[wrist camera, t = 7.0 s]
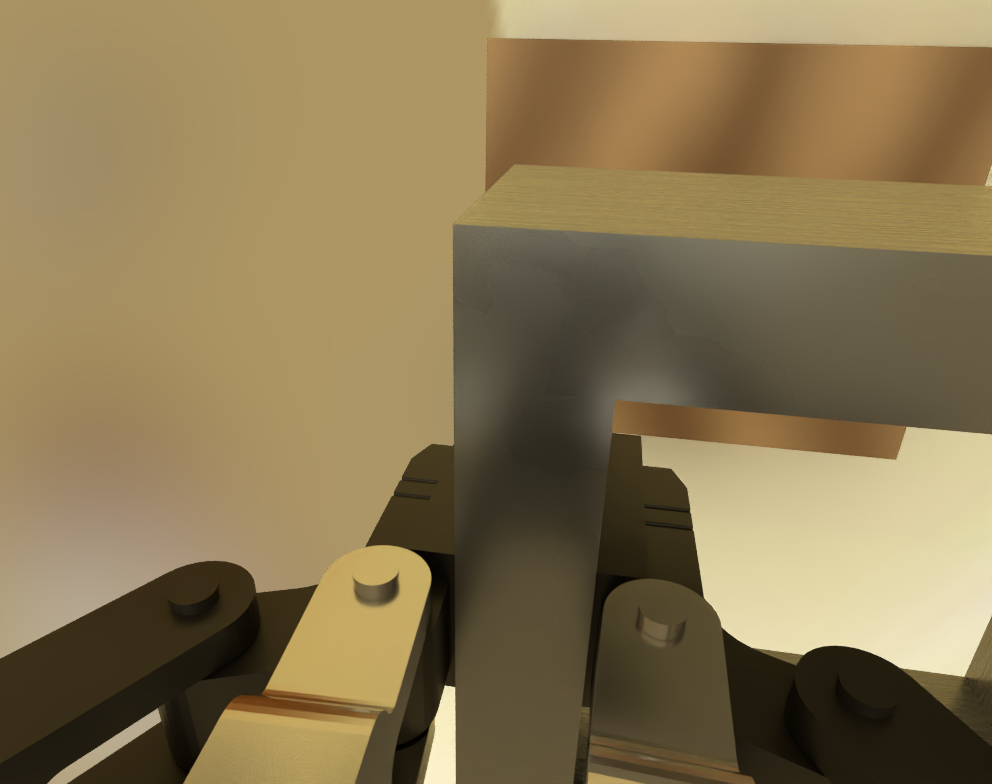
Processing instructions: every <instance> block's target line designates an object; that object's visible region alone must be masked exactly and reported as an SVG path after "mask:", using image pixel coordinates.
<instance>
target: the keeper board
mask: <svg viewBox="0 0 992 784" xmlns="http://www.w3.org/2000/svg"><path fill="white" fill-rule="evenodd" d="M486 123H487V124H486V192H487V191H488V190H489V189H490V188H491V187H492V186H493V185H494V184H495V183H496V182H497V181H498V180H499V179H500V178H501V177H502V176H503V175H504V174H505V173H506V172H507V171H508V170H509V169H510V168H511V167H512V166H513V165H514V164H517V165H539V166H560V167H582V168H604V169H626V170H648V171H669V172H691V173H713V174H735V175H757V176H778V177H800V178H822V179H844V180H866V181H887V182H909V183H931V184H953V185H975V186H985V183H986V180H987V176H988V173H989V170H990V167H991V164H992V48H986V47H933V46H880V45H826V44H773V43H720V42H666V41H613V40H559V39H506V38H488V45H487V121H486ZM906 427H907V426H896V425H885V424H874V423H863V422H852V421H841V420H830V419H819V418H808V417H797V416H786V415H775V414H764V413H753V412H742V411H731V410H721V409H710V408H699V407H688V406H677V405H666V404H655V403H644V402H633V401H622V400H615V409H614V418H613V427H612V432H617V433H627V434H637V435H648V436H658V437H668V438H679V439H689V440H699V441H710V442H720V443H730V444H741V445H751V446H761V447H771V448H782V449H792V450H802V451H813V452H823V453H833V454H844V455H854V456H864V457H875V458H885V459H895V460H896V458H897V455H898V452H899V449H900V446H901V442H902V439H903V436H904V433H905V430H906Z"/></svg>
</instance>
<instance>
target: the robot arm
mask: <svg viewBox="0 0 992 784" xmlns="http://www.w3.org/2000/svg"><path fill="white" fill-rule="evenodd" d="M445 685H446V686H452V687H455V514H454V445H453V446H447V445H437V444H431V445H430V446H428V447H427V448H426V449H424V450H423V451H421V452H420V453H419V454H417V455H416V456H414V457H413V458H412V459H411V461H410V463H409V465H408V466H407V468H406V470H405V472H404V474H403V476H402V481H400V482H399V484H398V486H397V487H396V489H395V491H394V496H392V497H391V499H390V501H389V503H388V505H387V507H386V508H385V511H384V512H383V514H382V516H381V518H380V520H379V522H378V524H377V526H376V527H375V529H374V531H373V533H372V535H371V537H370V539H369V541H368V543H367V545H366V547H364V548H360V549H357V550H354V551H352V552H349V553H347V554H345V555H343V556H342V557H340V558H339V559H337V560H336V561H335V562H333V563H332V564H331V566H329V568H328V569H327V570H326V572H325V573H324V575H323V577H322V579H321V581H320V583H319V584H318V585H314V586H310V587H304V588H298V589H289V590H280V591H272V592H262V593H256V588H255V584H254V579H253V577H252V576H251V574H250V573H249V572H248V571H247V570H246V569H244V568H243V567H241V566H239V565H236V564H233V563H229V562H223V561H206V562H199V563H194V564H190V565H186V566H183V567H180V568H177V569H175V570H173V571H170V572H168V573H166V574H164V575H162V576H160V577H159V578H156V579H155V580H153V581H151V582H149V583H147V584H145V585H143V586H141V587H139V588H137V589H135V590H133V591H131V592H129V593H127V594H126V595H124V596H121V597H120V598H118V599H116V600H114V601H112V602H110V603H108V604H106V605H104V606H102V607H100V608H98V609H96V610H94V611H93V612H90V613H89V614H87V615H85V616H83V617H81V618H79V619H77V620H75V621H73V622H71V623H69V624H67V625H65V626H63V627H61V628H60V629H58V630H55V631H53V632H51V633H50V634H48V635H46V636H44V637H42V638H40V639H38V640H36V641H34V642H32V643H30V644H28V645H26V646H24V647H22V648H20V649H18V650H16V651H14V652H13V653H11V654H9V655H7V656H5V657H3V658H1V659H0V784H47V783H48V782H49V781H50V780H51V779H52V778H53V777H54V776H55V775H57V774H58V773H59V772H60V771H62V770H63V769H64V768H66V767H67V766H69V765H70V764H72V763H74V762H75V761H77V760H78V759H79V758H81V757H83V756H84V755H86V754H87V753H89V752H91V751H92V750H94V749H95V748H97V747H98V746H100V745H101V744H103V743H104V742H106V741H107V740H109V739H110V738H112V737H114V736H115V735H116V734H118V733H120V732H122V731H123V730H124V729H126V728H128V727H129V726H131V725H132V724H134V723H135V722H137V721H138V720H140V719H142V718H143V717H145V716H146V715H148V714H149V713H151V712H152V711H154V710H156V709H157V708H158V710H159V714H160V717H161V722H160V723H158V724H157V725H155V726H153V727H152V728H151V729H149V730H148V731H146V732H145V733H143V734H142V735H140V736H138V737H137V738H135V739H134V740H132V741H131V742H129V743H128V744H126V745H125V746H123V747H122V748H120V749H119V750H117V751H116V752H114V753H113V754H111V755H110V756H108V757H107V758H105V759H104V760H102V761H101V762H99V763H98V764H96V765H95V766H93V767H92V768H90V769H89V770H87V771H86V772H84V773H83V774H81V775H79V776H78V777H76V778H75V779H73V780H72V781H71V782H69V783H68V784H423V783H424V778H425V774H426V770H427V765H428V761H429V756H430V752H431V747H432V743H433V738H434V732H435V716H436V713H437V711H438V707H439V704H440V700H441V697H442V693H443V690H444V686H445ZM582 707H589V708H590V713H589V734H588V741H587V750H586V758H585V767H584V777H583V784H992V747H991V746H990V745H989V744H988V743H987V742H986V741H984V740H983V739H982V738H981V737H980V736H979V735H978V734H976V733H975V732H974V731H973V730H972V729H971V728H970V727H968V726H967V725H966V724H965V723H964V722H963V721H961V720H960V719H959V718H958V717H957V716H956V715H955V714H953V713H952V712H951V711H950V710H949V709H948V708H946V707H945V706H944V705H943V704H942V703H941V702H940V701H938V700H937V699H936V698H935V697H934V696H933V695H932V694H930V693H929V692H928V691H927V690H926V689H925V688H923V687H922V686H921V685H920V684H919V683H918V682H917V681H915V680H914V679H913V678H912V677H911V676H909V675H908V674H907V673H906V672H904V671H903V670H902V669H900V668H899V667H897V666H896V665H894V664H892V663H891V662H889V661H887V660H885V659H883V658H881V657H879V656H877V655H874V654H872V653H869V652H866V651H863V650H860V649H856V648H851V647H845V646H824V647H820V648H816V649H813V650H811V651H809V652H807V653H806V654H805V655H804V656H803V657H801V659H800V660H799V662H798V663H797V666H796V665H794V664H791V663H788V662H786V661H783V660H781V659H778V658H775V657H773V656H770V655H767V654H765V653H762V652H760V651H758V650H755V649H753V648H751V647H749V646H747V645H745V644H743V643H742V642H740V641H738V640H737V639H735V638H734V637H733V636H731V635H730V634H729V633H727V632H726V631H725V630H724V629H723V628H722V627H721V622H720V619H719V617H718V615H717V613H716V612H715V610H714V609H713V608H712V606H711V605H710V604H709V603H708V602H707V601H706V600H705V599H704V595H703V589H702V582H701V576H700V569H699V563H698V556H697V550H696V543H695V537H694V531H693V524H692V517H691V513H690V504H689V498H688V491H687V488H686V486H685V485H684V484H683V483H682V481H681V480H680V479H679V478H678V477H677V475H676V474H675V473H674V472H673V471H672V469H668V468H658V467H648V466H642V447H641V436H635V435H625V434H615V433H612V436H611V445H610V454H609V463H608V472H607V481H606V491H605V500H604V509H603V518H602V527H601V536H600V545H599V554H598V563H597V572H596V581H595V591H594V600H593V609H592V618H591V627H590V636H589V645H588V654H587V663H586V672H585V681H584V690H583V700H582Z"/></svg>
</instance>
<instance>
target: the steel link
mask: <svg viewBox="0 0 992 784" xmlns="http://www.w3.org/2000/svg"><path fill="white" fill-rule="evenodd" d="M453 317H454V318H453V322H454V325H453V326H454V327H453V329H454V514H455V698H456V784H583V777H584V767H585V758H586V750H587V741H588V734H589V713H590V708H589V707H582V700H583V690H584V681H585V672H586V663H587V654H588V645H589V636H590V627H591V618H592V609H593V600H594V591H595V581H596V572H597V563H598V554H599V545H600V536H601V527H602V518H603V509H604V500H605V491H606V481H607V472H608V463H609V454H610V445H611V436H612V427H613V418H614V409H615V400H622V401H633V402H644V403H655V404H666V405H677V406H688V407H699V408H710V409H721V410H731V411H742V412H753V413H764V414H775V415H786V416H797V417H808V418H819V419H830V420H841V421H852V422H863V423H874V424H885V425H896V426H907V427H918V428H929V429H939V430H950V431H961V432H972V433H983V434H992V186H975V185H953V184H931V183H909V182H887V181H866V180H844V179H822V178H800V177H778V176H757V175H735V174H713V173H691V172H669V171H648V170H626V169H604V168H582V167H560V166H539V165H517V164H514V165H513V166H512V167H511V168H510V169H509V170H508V171H507V172H506V173H505V174H504V175H503V176H502V177H501V178H500V179H499V180H498V181H497V182H496V183H495V184H494V185H493V186H492V187H491V188H490V189H489V190H488V191H487V192H486V193H485V194H484V195H483V196H481V197H480V198H479V200H477V201H476V202H475V203H474V204H473V205H472V206H471V207H470V208H469V209H468V210H467V211H466V212H465V213H464V214H463V215H462V216H461V217H460V218H459V219H458V220H457V221H456V222H455V223H454V224H453ZM753 649H755V650H758V651H760V652H762V653H765V654H767V655H770V656H773V657H775V658H778V659H781V660H783V661H786V662H788V663H791V664H794V665H796V666H797V663H798V662H799V660H800V659H801V657H803V656H804V655H800V654H792V653H785V652H778V651H770V650H763V649H756V648H753ZM900 669H902V668H900ZM902 670H903V671H904V672H906V673H907V674H908V675H909V676H911V677H912V678H913V679H914V680H915V681H917V682H918V683H919V684H920V685H921V686H922V687H923V688H925V689H926V690H927V691H928V692H929V693H930V694H932V695H933V696H934V697H935V698H936V699H937V700H938V701H940V702H941V703H942V704H943V705H944V706H945V707H946V708H948V709H949V710H950V711H951V712H952V713H953V714H955V715H956V716H957V717H958V718H959V719H960V720H961V721H963V722H964V723H965V724H966V725H967V726H968V727H970V728H971V729H972V730H973V731H974V732H975V733H976V734H978V735H979V736H980V737H981V738H982V739H983V740H984V741H986V742H987V743H988V744H989V745H990V746H991V747H992V617H991V619H990V621H989V624H988V626H987V628H986V630H985V632H984V635H983V637H982V639H981V641H980V644H979V646H978V648H977V650H976V653H975V655H974V657H973V659H972V661H971V664H970V666H969V668H968V670H967V673H966V675H965V677H961V676H953V675H946V674H939V673H931V672H924V671H917V670H909V669H902Z"/></svg>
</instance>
